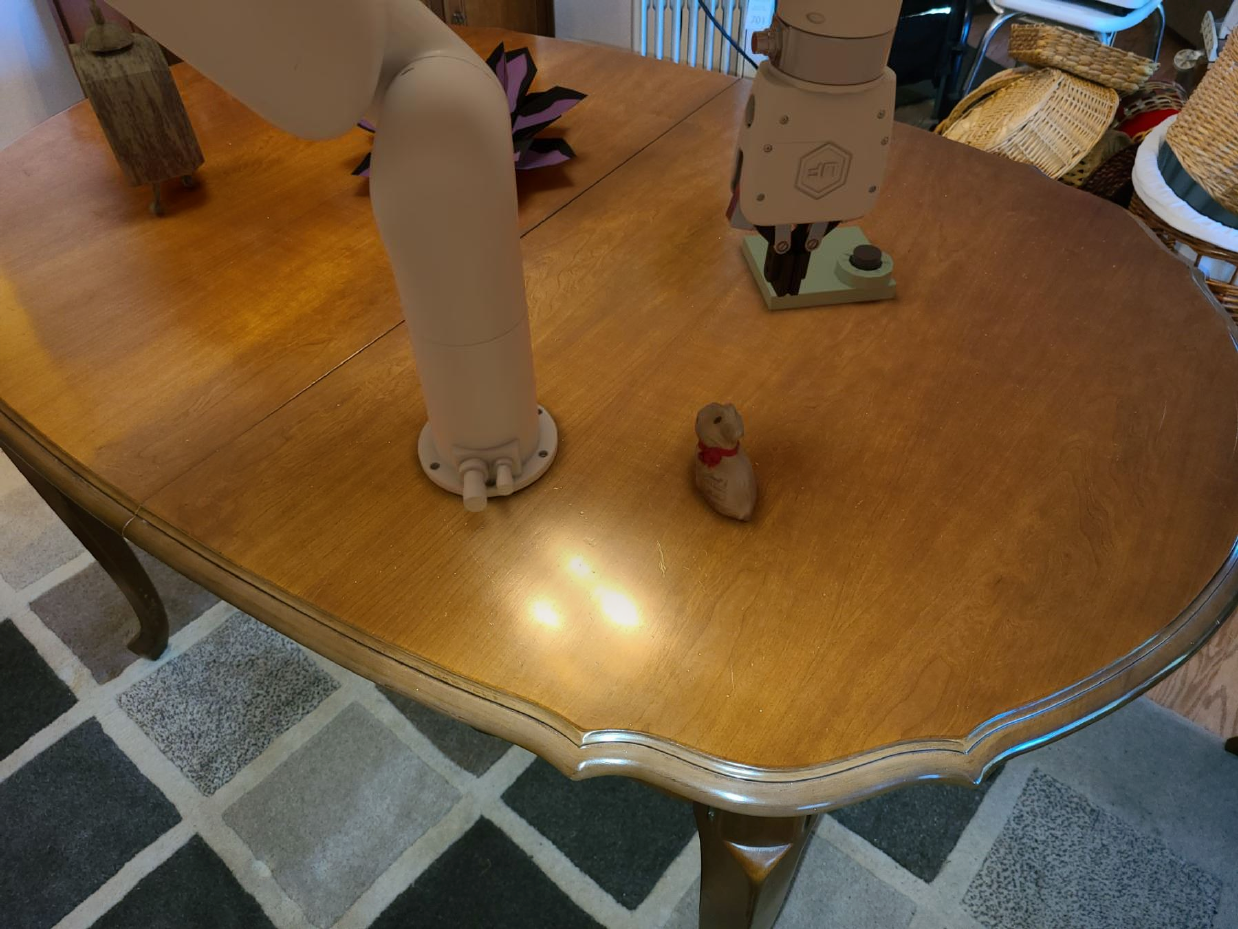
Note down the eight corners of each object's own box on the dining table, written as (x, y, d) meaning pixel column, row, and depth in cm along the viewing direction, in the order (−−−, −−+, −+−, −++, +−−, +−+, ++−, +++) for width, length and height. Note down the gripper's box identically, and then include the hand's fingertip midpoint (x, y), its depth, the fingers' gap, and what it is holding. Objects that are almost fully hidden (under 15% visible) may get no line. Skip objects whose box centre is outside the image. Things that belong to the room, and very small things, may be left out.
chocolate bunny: (752, 455, 76) (766, 371, 69) (756, 523, 71) (772, 439, 63) (691, 453, 76) (698, 368, 69) (691, 519, 71) (698, 436, 64)
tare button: (883, 270, 90) (886, 258, 89) (856, 273, 90) (859, 260, 89) (873, 255, 92) (876, 243, 91) (847, 257, 92) (849, 245, 91)
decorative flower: (620, 197, 108) (616, 82, 96) (373, 256, 102) (336, 142, 90) (549, 81, 127) (538, -26, 115) (338, 125, 121) (304, 18, 109)
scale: (894, 301, 92) (902, 274, 89) (770, 313, 90) (775, 286, 88) (855, 239, 100) (861, 213, 98) (741, 249, 99) (744, 223, 96)
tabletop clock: (129, 175, 111) (33, -36, 93) (200, 158, 114) (120, -48, 96) (147, 225, 103) (45, 5, 85) (223, 206, 106) (140, -11, 88)
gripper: (734, 76, 50) (703, 323, 64) (963, 64, 53) (887, 305, 66) (702, 30, 55) (680, 268, 69) (913, 21, 58) (852, 253, 71)
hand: (781, 286), depth 67 cm, fingers closed
